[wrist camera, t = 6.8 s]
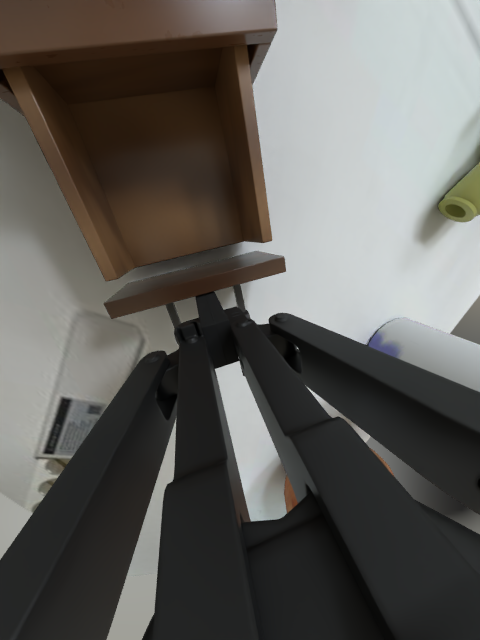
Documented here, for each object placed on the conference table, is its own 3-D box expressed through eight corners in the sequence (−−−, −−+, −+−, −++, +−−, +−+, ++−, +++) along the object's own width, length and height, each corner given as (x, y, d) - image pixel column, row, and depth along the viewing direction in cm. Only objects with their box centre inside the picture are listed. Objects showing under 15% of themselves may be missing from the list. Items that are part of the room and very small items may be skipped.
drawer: (265, 301, 24) (291, 323, 18) (151, 334, 22) (138, 371, 16) (228, 79, 16) (254, -14, 10) (47, 102, 15) (-53, 5, 8)
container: (423, 340, 35) (669, 447, 18) (379, 380, 37) (568, 519, 19) (403, 304, 31) (700, 398, 13) (354, 351, 32) (567, 495, 14)
